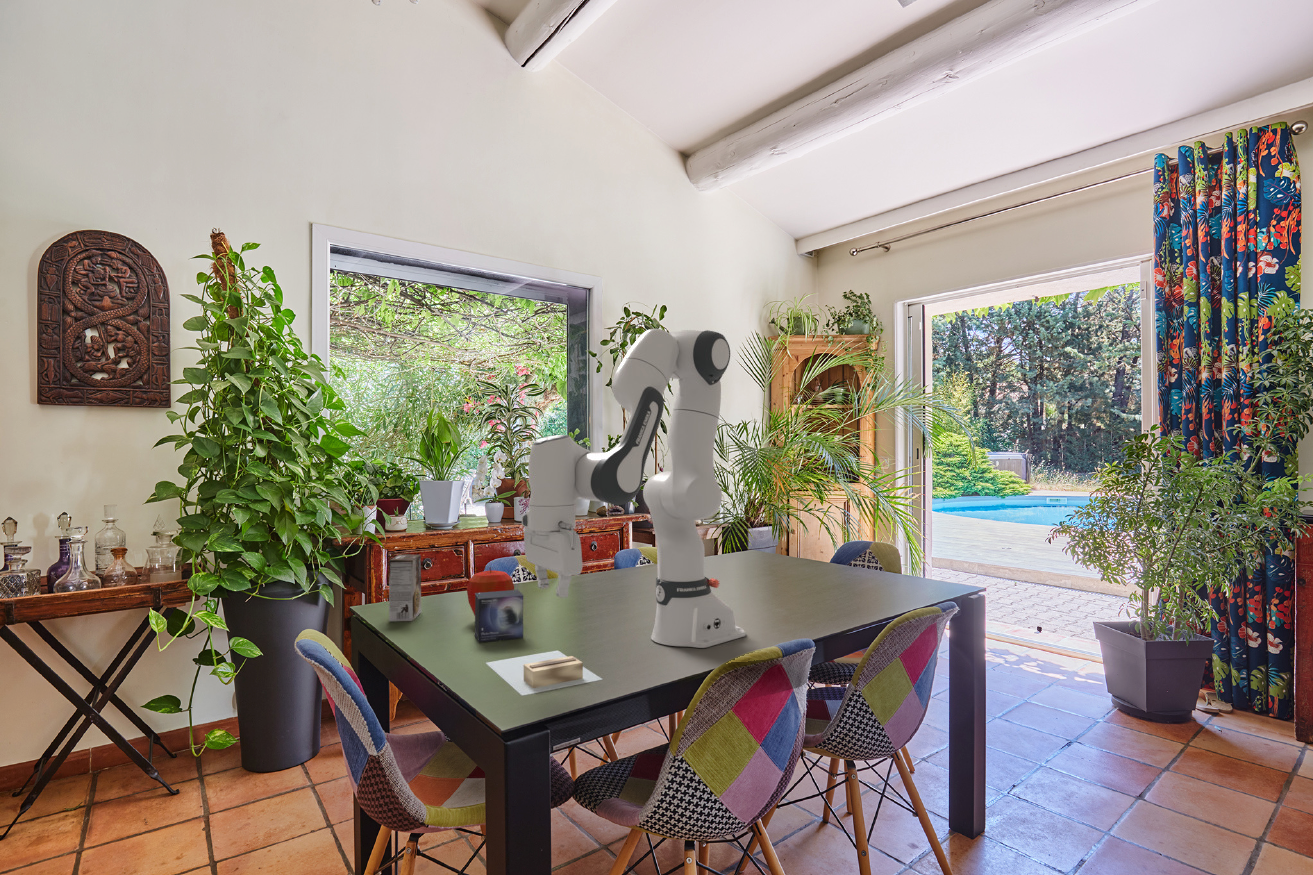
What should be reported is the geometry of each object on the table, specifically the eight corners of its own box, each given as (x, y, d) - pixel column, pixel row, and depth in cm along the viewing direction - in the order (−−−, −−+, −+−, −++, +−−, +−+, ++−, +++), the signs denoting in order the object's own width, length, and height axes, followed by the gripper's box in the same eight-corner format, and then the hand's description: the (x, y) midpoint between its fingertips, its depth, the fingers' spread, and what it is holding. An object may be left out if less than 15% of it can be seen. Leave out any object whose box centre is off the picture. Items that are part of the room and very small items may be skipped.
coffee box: (397, 613, 185) (397, 554, 185) (421, 612, 185) (421, 553, 186) (388, 621, 176) (388, 559, 176) (413, 621, 176) (413, 559, 177)
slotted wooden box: (572, 671, 133) (572, 654, 133) (582, 678, 129) (582, 661, 129) (523, 680, 128) (523, 663, 128) (533, 688, 124) (532, 670, 124)
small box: (478, 644, 155) (478, 598, 155) (474, 636, 161) (473, 592, 161) (524, 638, 159) (524, 593, 159) (518, 631, 165) (518, 588, 165)
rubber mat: (557, 653, 147) (557, 650, 147) (602, 682, 128) (602, 679, 128) (485, 665, 139) (485, 662, 139) (522, 698, 120) (522, 695, 120)
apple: (515, 625, 171) (514, 569, 171) (465, 629, 168) (465, 572, 168) (513, 614, 183) (513, 562, 183) (468, 617, 180) (467, 564, 180)
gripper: (590, 523, 122) (591, 600, 122) (547, 514, 139) (548, 581, 139) (558, 525, 119) (558, 604, 118) (518, 516, 136) (518, 585, 136)
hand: (552, 592), depth 129 cm, fingers open, 8 cm apart
